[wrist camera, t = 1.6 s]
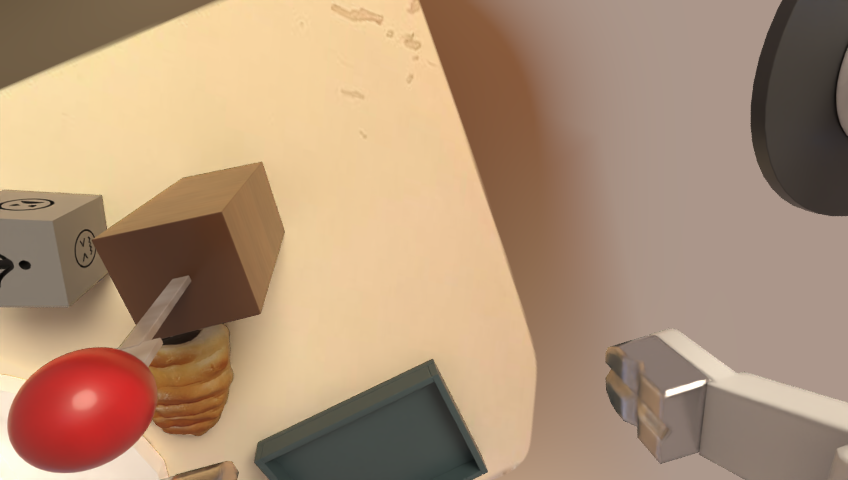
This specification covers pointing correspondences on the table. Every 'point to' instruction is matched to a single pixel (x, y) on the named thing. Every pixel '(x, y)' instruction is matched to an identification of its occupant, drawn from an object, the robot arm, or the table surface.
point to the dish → (124, 476)
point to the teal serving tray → (379, 436)
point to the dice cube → (48, 247)
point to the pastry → (192, 380)
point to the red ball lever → (152, 313)
